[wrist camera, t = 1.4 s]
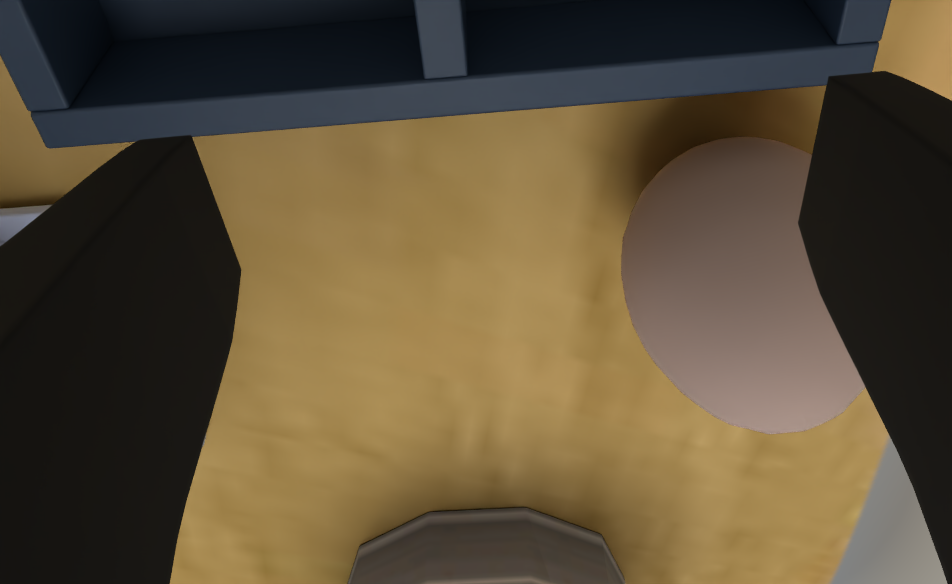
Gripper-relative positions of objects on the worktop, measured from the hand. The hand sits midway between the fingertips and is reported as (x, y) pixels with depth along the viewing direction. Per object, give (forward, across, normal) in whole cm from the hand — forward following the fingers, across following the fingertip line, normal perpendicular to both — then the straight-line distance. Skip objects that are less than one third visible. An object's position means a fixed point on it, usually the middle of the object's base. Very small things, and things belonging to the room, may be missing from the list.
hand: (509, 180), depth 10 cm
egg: (+9, -5, +7) cm, 12 cm away
